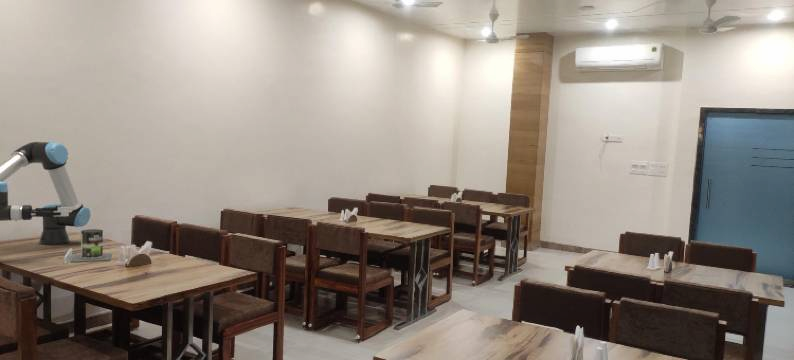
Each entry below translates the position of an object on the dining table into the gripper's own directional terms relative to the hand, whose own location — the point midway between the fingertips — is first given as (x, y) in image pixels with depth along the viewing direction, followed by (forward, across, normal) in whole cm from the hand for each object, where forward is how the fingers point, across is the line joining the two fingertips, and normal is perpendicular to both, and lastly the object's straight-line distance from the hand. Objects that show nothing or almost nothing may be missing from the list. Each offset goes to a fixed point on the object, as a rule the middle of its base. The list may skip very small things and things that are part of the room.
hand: (70, 211), depth 301 cm
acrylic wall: (-1, 0, -25) cm, 25 cm away
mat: (+10, 0, -25) cm, 27 cm away
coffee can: (+10, 0, -25) cm, 27 cm away
